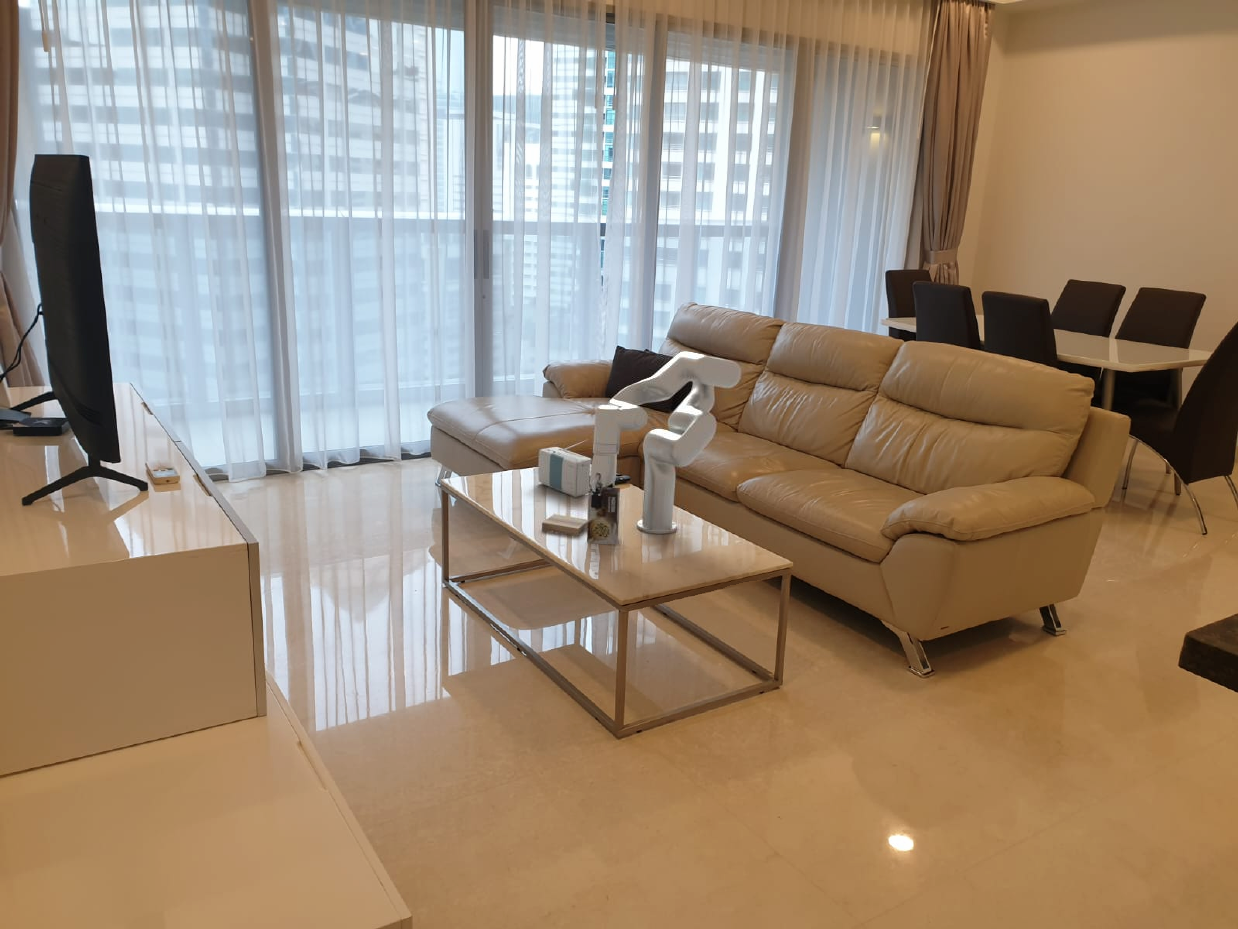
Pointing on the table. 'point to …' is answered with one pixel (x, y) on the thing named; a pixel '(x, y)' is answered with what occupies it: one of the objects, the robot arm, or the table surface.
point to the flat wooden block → (565, 525)
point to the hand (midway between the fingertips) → (602, 503)
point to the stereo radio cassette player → (564, 470)
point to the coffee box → (604, 518)
